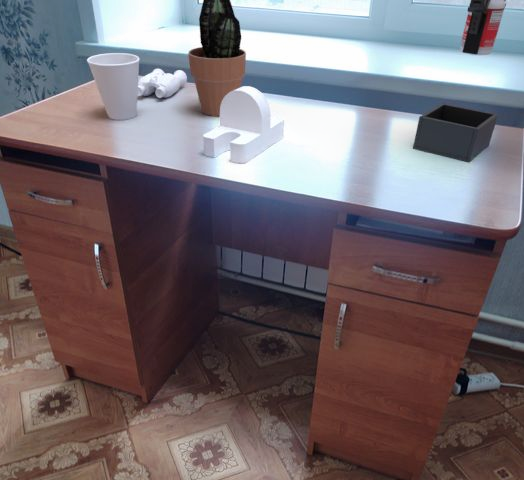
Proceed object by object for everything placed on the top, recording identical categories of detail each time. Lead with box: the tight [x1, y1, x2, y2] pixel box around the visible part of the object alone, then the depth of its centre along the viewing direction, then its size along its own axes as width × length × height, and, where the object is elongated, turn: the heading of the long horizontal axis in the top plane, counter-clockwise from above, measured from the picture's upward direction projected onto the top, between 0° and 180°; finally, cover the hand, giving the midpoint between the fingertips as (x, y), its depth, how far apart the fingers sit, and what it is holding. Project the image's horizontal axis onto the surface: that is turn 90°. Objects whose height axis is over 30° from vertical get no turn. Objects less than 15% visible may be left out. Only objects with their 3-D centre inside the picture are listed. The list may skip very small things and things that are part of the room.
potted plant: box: [187, 0, 247, 117], centre depth 120 cm, size 14×14×25 cm
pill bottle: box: [459, 0, 506, 56], centre depth 95 cm, size 6×6×11 cm
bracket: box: [202, 85, 285, 164], centre depth 106 cm, size 19×10×11 cm, turn 152°
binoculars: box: [137, 68, 188, 99], centre depth 138 cm, size 10×16×5 cm, turn 168°
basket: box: [412, 102, 499, 163], centre depth 109 cm, size 13×13×7 cm
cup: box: [86, 52, 141, 121], centre depth 120 cm, size 12×12×12 cm
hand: (476, 50), depth 99 cm, fingers closed on pill bottle, 6 cm apart
